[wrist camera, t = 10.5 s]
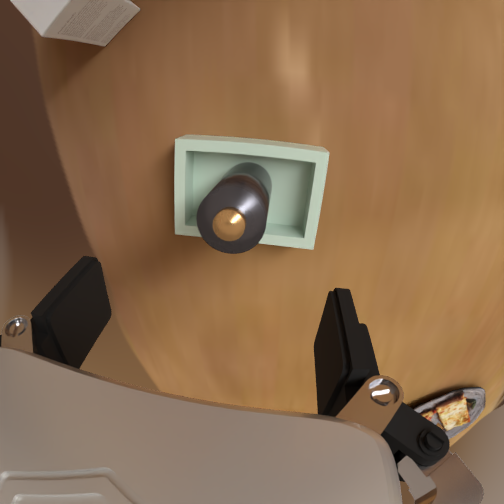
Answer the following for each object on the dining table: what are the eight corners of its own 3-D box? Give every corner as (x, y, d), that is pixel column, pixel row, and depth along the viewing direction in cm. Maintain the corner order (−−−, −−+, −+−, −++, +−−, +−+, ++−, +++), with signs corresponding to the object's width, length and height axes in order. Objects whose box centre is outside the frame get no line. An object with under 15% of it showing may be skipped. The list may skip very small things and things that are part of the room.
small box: (70, 13, 21) (7, 0, 12) (104, -23, 19) (47, -50, 10) (105, 48, 23) (39, 38, 14) (143, 10, 21) (86, -19, 12)
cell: (225, 160, 28) (192, 188, 18) (273, 163, 27) (267, 193, 18) (224, 206, 30) (194, 255, 20) (270, 210, 29) (263, 261, 20)
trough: (186, 134, 27) (175, 139, 24) (323, 147, 27) (329, 152, 24) (185, 220, 32) (175, 234, 28) (310, 234, 31) (313, 249, 28)
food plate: (366, 418, 46) (369, 434, 43) (481, 362, 39) (489, 376, 36) (394, 453, 55) (396, 465, 52) (480, 413, 48) (484, 424, 45)
